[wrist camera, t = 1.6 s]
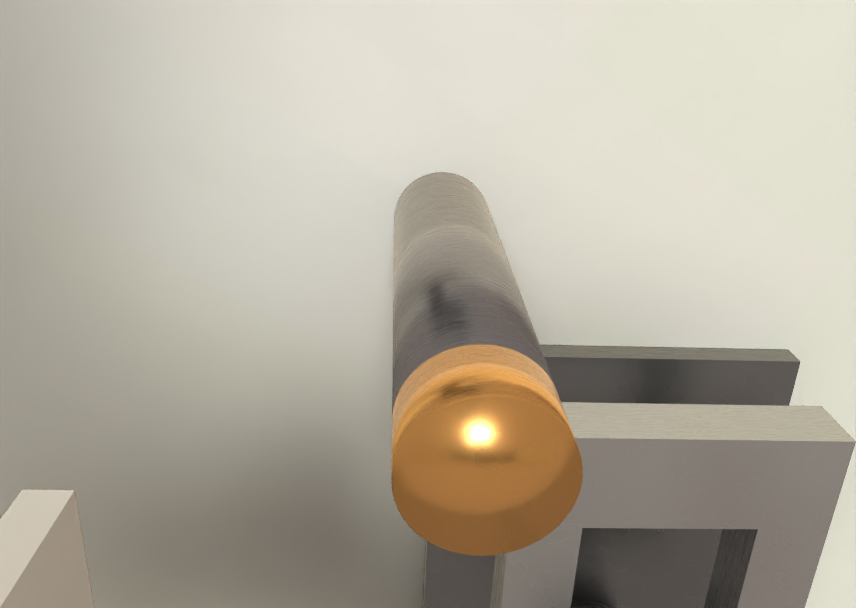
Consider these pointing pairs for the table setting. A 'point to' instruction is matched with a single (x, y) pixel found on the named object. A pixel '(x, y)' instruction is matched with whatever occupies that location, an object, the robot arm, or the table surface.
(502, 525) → the copper tipped metal rod
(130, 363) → the table surface
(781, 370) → the square hole plate
